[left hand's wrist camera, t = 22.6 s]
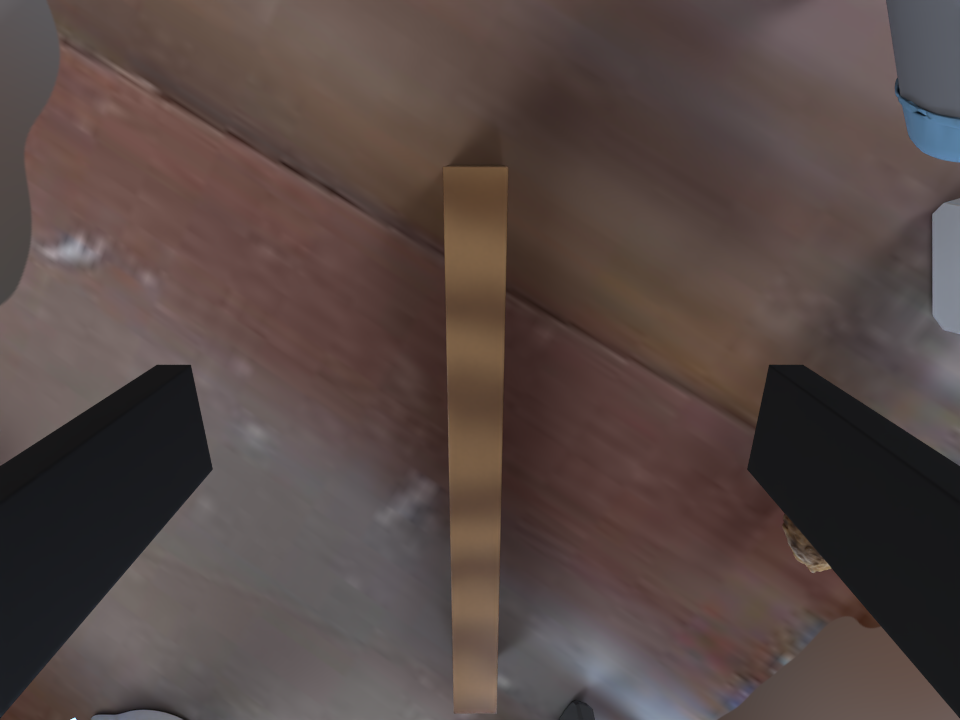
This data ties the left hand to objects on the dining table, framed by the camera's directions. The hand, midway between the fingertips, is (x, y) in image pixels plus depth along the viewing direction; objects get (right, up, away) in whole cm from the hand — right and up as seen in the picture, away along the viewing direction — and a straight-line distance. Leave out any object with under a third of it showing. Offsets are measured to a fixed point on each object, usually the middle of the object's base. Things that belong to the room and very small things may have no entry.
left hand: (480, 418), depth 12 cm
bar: (0, -9, +46) cm, 47 cm away
